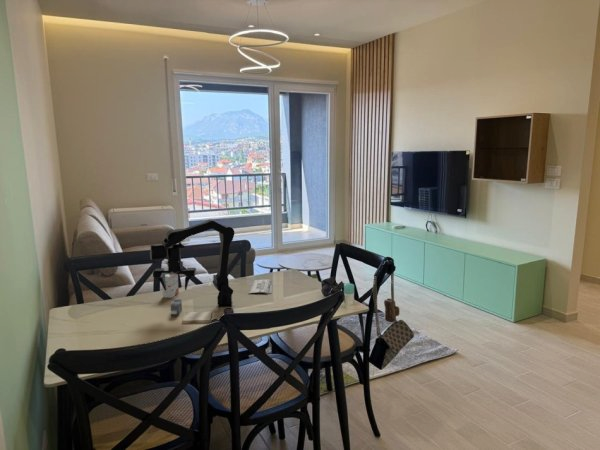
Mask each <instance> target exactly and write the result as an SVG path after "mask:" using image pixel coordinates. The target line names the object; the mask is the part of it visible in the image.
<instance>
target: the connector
mask: <svg viewBox="0 0 600 450" xmlns="http://www.w3.org/2000/svg"><path fill="white" fill-rule="evenodd" d="M182 310H183V308H182V299H181V298H176V299H173V300H172V302H171V303H170V316H171V317H173V316H174V317H178V316H180V314H181V313H182ZM174 317H173V318H174Z"/></svg>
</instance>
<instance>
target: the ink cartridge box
mask: <svg viewBox="0 0 600 450" xmlns="http://www.w3.org/2000/svg"><path fill="white" fill-rule="evenodd" d="M165 281H166V291H165V290H164V288H163V286H162V285H161V287H162V288H161V290H162V298H167V299H171V298H173V297H174V296H176V295H178V294H179V274H165Z"/></svg>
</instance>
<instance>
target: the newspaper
mask: <svg viewBox="0 0 600 450" xmlns="http://www.w3.org/2000/svg"><path fill="white" fill-rule="evenodd" d="M252 281H253V282H252V284H251V286H250V288H249V291H248V295H250V294H255V293H256V294H257V293H263V294H264V295H268V294H272V288H273V287H272V286H273V285H272V280H271V279H256V280H252Z"/></svg>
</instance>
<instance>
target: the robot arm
mask: <svg viewBox="0 0 600 450" xmlns="http://www.w3.org/2000/svg"><path fill="white" fill-rule="evenodd" d="M209 230H213V231H216V232H217V233H218V234H219V242H220V246H219V247H220V248H219V259H218V265H217V267H218V268H217V272H216V274H213V277H212V278H213V280H212V284H213V286H214V288H215V289H216V290H217V291H218V294H217V306H218V307H219V308H220V307H221V308H223V307H224V308H225V307H228V308H229V307H232V306H233V294H234V289H233V288H232V287H230V284H229V283H230V282H229V277H228V266H229V257H230V248H231V244H232V242H233V240H234V237H235V230H234V228H233V227H231V226H229V225H227V224H224V225H223V224H221V223H218V222H216V221H215V220H214V219H208V220H206V221H203V222H200V223H197V224H194V225H191V226H188V227H185V228H176V229H171V230H168V231H167V232H166V234H165V238H164V239H163V240H162V241H161V242H162V243H161V244H160V243H159V244H150V246H149V249H150V250H149V258H150V260H151V261H155V260H157V261H158V260H164V259H165V258H166V257H167V264H166V265H167V270H165V268H164V267H163V268H162V267H161V268H160V267H158V268H155V269H154V270H153V271H152V277H153V278H155V279H156V280H158V281H159V283H160V284H161V287H162V286H163V288H164V290H165V291H166V281H165V274H178V275H185V278H184V290H185V291H187V289H188V286H189V282H190V279H193V277H195V276H196V275H197V268H196V267H187V268H186V269H184V261H182V259H181V257H182V256H181V249H184V248H185V245H184V244H183V243H182V242H183V241H185V240H186V239H187V238H189V237H192V236H195V235H198V234H201V233H203V232H207V231H209Z"/></svg>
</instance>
